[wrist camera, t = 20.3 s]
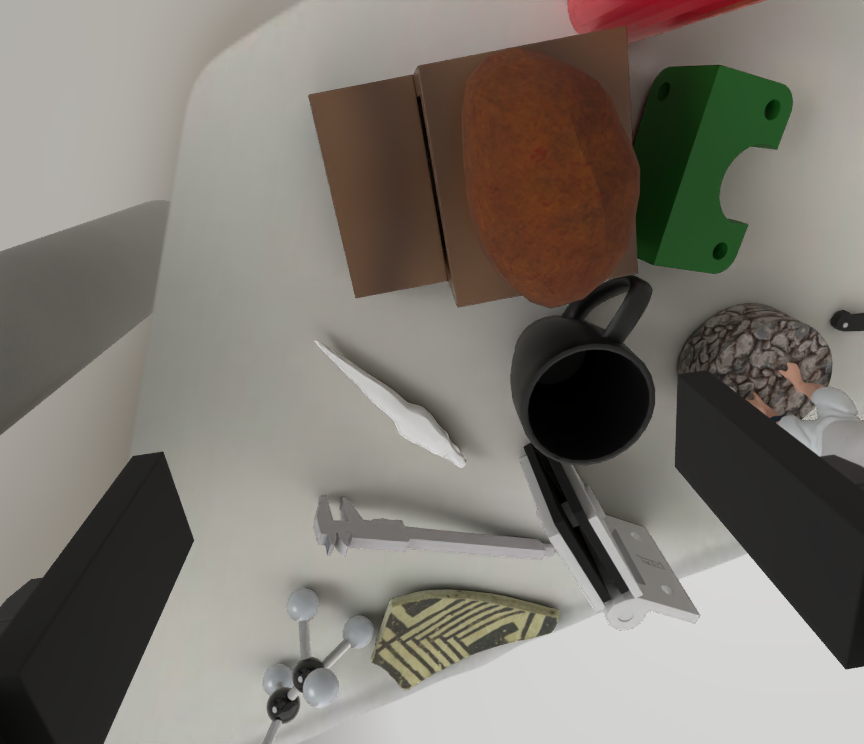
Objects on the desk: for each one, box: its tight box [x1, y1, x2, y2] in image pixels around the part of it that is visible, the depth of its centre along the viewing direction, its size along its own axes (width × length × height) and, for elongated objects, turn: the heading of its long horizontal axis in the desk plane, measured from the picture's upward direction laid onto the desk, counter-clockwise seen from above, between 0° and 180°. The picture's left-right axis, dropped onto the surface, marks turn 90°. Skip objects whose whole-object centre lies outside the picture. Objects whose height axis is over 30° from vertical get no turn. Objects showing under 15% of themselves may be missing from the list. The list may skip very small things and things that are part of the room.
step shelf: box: [308, 26, 638, 307], centre depth 36 cm, size 16×12×10 cm
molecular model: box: [262, 588, 374, 744], centre depth 50 cm, size 8×12×11 cm
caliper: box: [314, 495, 555, 560], centre depth 48 cm, size 20×1×6 cm, turn 73°
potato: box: [462, 47, 640, 308], centre depth 27 cm, size 8×12×8 cm, turn 17°
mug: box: [510, 275, 655, 465], centre depth 40 cm, size 8×12×10 cm
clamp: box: [633, 65, 793, 274], centre depth 38 cm, size 12×6×9 cm, turn 163°
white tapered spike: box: [315, 341, 466, 468], centre depth 45 cm, size 15×3×2 cm, turn 46°
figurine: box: [678, 304, 864, 467], centre depth 38 cm, size 15×9×18 cm, turn 138°
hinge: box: [519, 443, 700, 631], centre depth 46 cm, size 14×5×10 cm, turn 43°
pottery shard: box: [371, 589, 560, 690], centre depth 54 cm, size 11×16×2 cm, turn 83°
